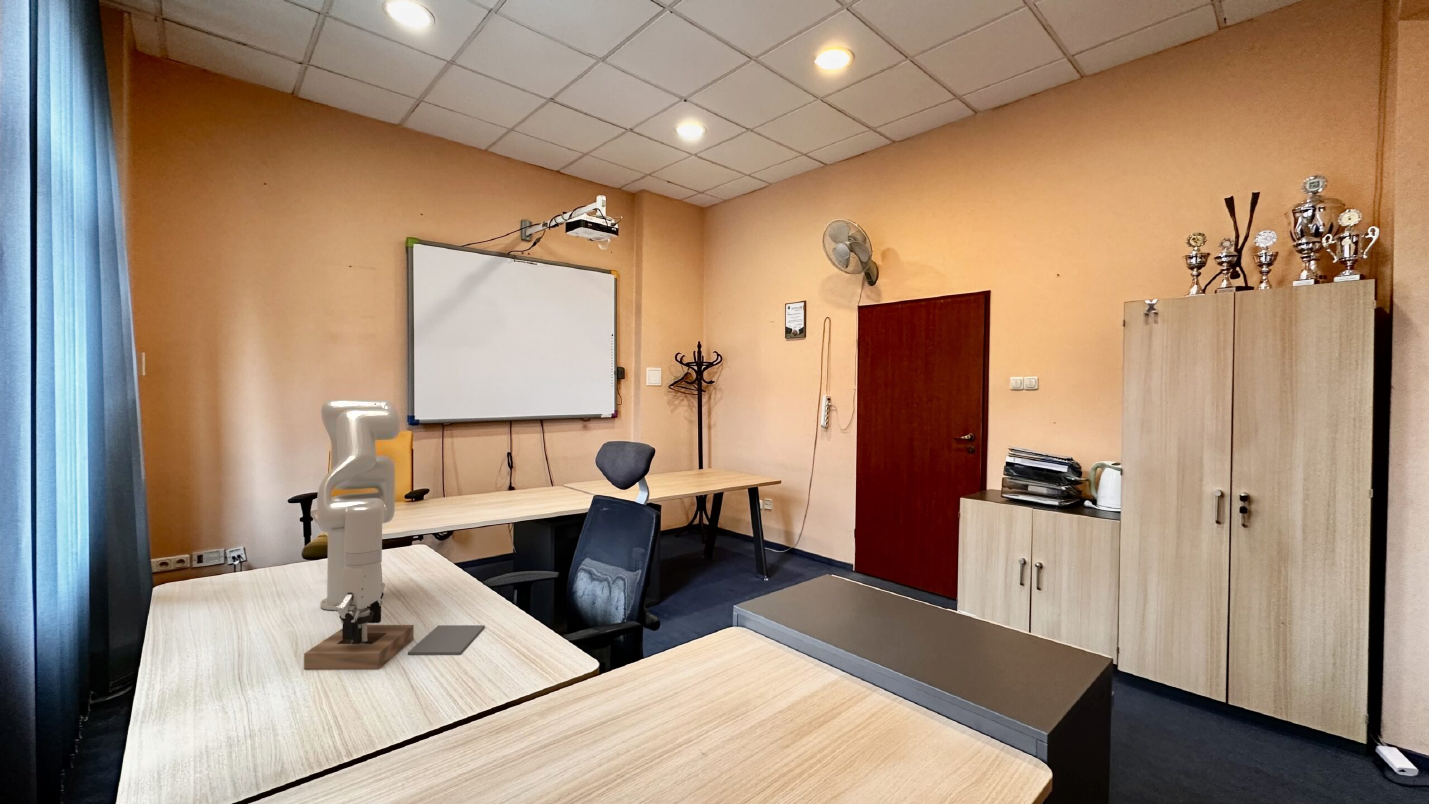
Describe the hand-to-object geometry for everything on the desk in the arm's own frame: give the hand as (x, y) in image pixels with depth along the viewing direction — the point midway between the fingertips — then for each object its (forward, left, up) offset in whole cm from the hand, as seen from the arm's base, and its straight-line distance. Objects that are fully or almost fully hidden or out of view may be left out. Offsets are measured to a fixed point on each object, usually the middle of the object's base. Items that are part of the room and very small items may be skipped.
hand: (362, 630), depth 134 cm
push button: (0, 0, -6) cm, 6 cm away
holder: (0, 0, -5) cm, 5 cm away
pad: (-7, +17, -5) cm, 19 cm away
